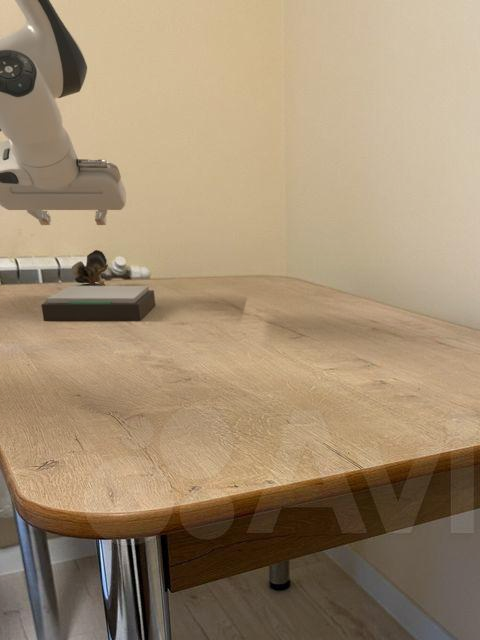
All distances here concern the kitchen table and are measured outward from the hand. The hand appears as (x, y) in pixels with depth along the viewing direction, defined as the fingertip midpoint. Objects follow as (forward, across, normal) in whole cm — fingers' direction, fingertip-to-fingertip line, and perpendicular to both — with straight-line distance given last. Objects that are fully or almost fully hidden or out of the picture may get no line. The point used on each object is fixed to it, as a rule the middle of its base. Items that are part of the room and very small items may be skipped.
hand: (74, 222), depth 124 cm
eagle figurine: (+15, +1, +2) cm, 15 cm away
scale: (-5, -8, +22) cm, 24 cm away
